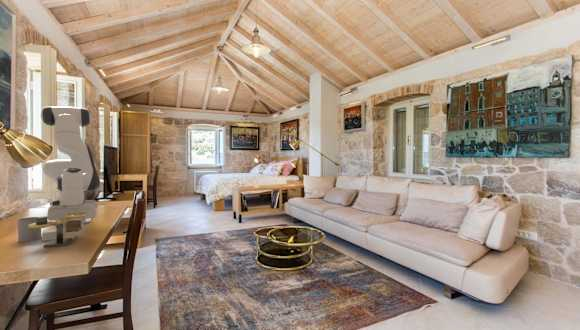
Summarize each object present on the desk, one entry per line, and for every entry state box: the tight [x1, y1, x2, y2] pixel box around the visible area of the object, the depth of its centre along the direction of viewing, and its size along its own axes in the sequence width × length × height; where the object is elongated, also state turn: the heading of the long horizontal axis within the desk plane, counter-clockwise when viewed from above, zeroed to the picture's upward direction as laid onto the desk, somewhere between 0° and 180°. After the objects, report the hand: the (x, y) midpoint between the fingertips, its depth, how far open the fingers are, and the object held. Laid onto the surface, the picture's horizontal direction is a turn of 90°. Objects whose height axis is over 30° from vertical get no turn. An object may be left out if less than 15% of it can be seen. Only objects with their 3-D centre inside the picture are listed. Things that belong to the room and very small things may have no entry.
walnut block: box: [65, 219, 82, 233], centre depth 141 cm, size 5×5×5 cm
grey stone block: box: [41, 228, 57, 242], centre depth 138 cm, size 5×5×4 cm
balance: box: [28, 212, 89, 249], centre depth 130 cm, size 9×22×14 cm, turn 110°
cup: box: [17, 216, 42, 242], centre depth 138 cm, size 8×8×10 cm
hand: (73, 227), depth 141 cm, fingers closed on walnut block, 5 cm apart
